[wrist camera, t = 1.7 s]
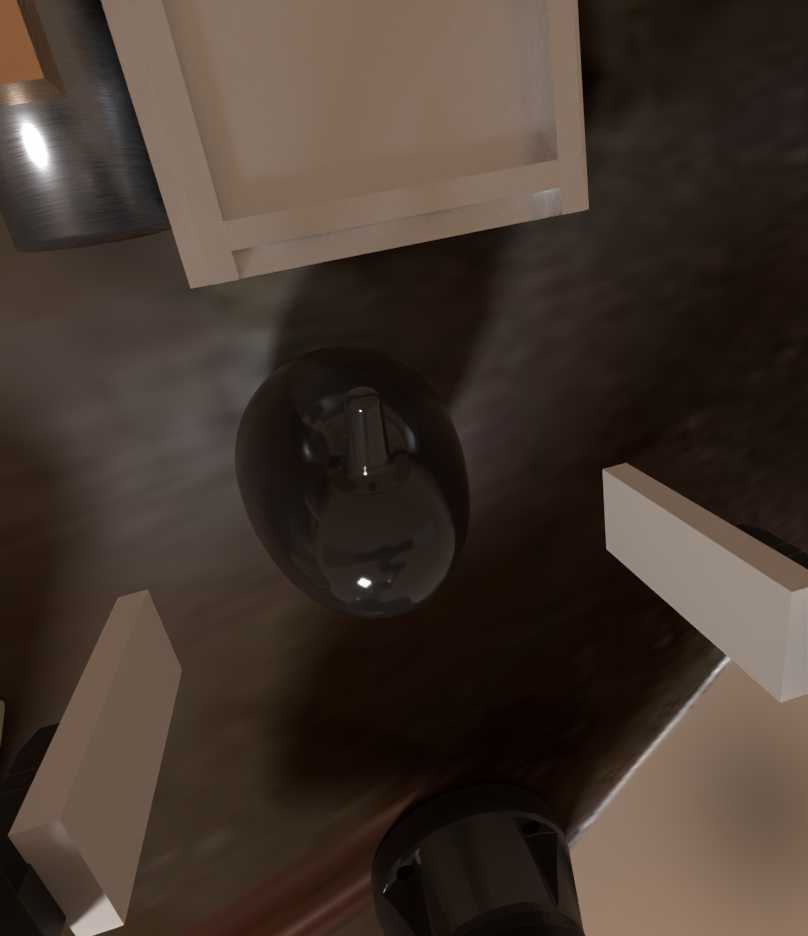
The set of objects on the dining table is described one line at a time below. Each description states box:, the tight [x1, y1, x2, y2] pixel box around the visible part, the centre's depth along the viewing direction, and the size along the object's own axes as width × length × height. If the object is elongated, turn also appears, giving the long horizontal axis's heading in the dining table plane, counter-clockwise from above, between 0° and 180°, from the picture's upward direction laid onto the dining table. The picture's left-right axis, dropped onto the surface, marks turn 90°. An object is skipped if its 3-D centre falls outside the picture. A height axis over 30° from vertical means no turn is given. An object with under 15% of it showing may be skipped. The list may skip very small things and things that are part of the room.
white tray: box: [0, 0, 589, 288], centre depth 21 cm, size 17×23×8 cm
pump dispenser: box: [235, 346, 470, 619], centre depth 23 cm, size 10×10×15 cm
